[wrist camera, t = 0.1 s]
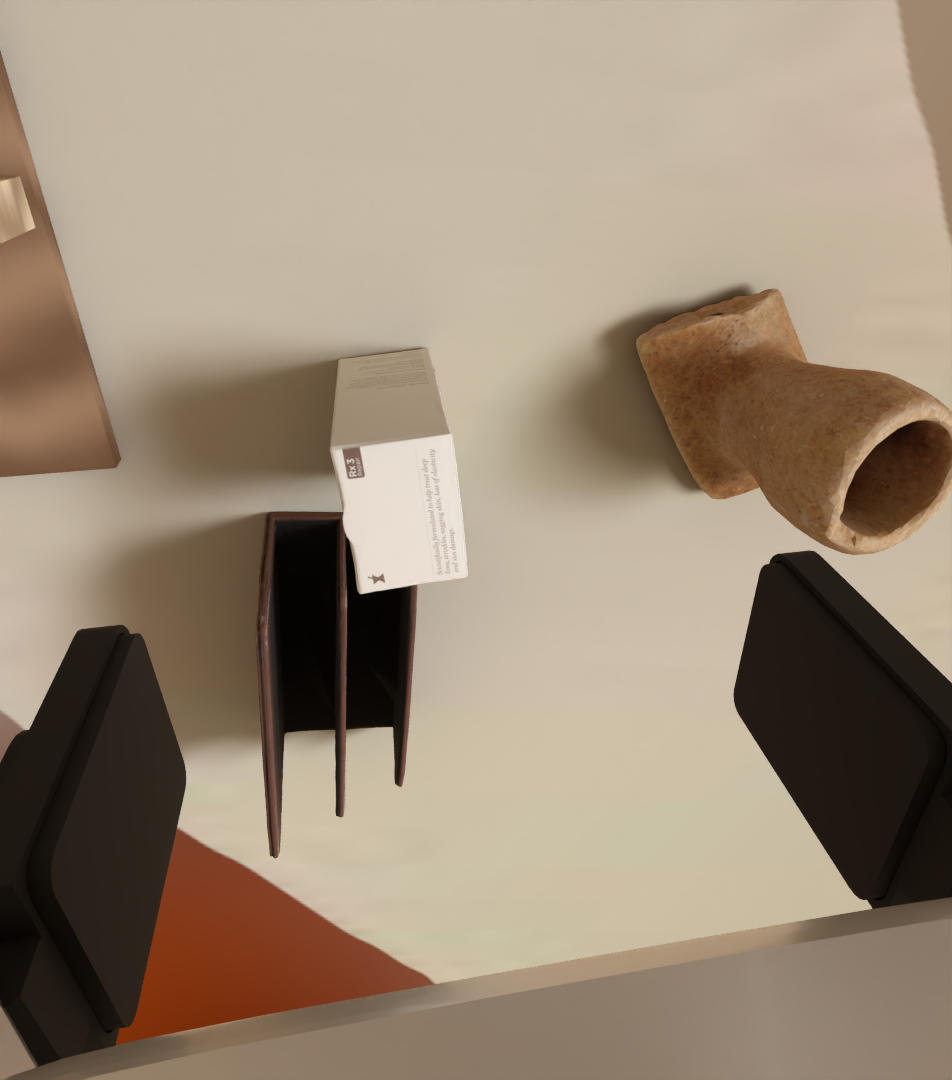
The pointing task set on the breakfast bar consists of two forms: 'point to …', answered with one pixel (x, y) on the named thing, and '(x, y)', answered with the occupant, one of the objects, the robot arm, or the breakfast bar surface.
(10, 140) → the jamb plate
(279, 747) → the letter holder
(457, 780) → the breakfast bar surface
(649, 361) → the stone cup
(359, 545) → the skincare box
